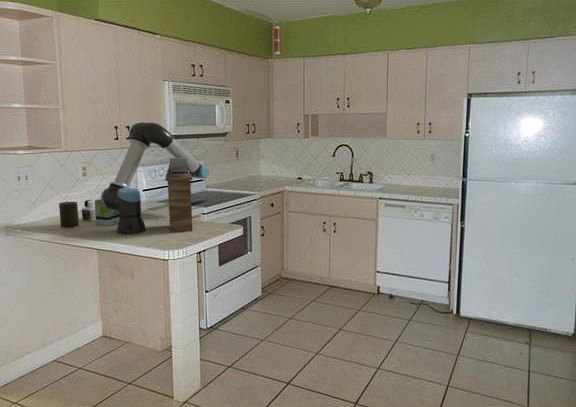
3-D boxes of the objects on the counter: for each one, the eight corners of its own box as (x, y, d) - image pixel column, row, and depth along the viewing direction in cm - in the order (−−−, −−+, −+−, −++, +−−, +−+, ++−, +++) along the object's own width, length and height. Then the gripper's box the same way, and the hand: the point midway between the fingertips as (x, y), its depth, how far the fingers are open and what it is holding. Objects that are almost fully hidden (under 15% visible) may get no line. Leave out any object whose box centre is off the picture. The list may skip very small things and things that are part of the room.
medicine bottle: (82, 220, 302) (80, 200, 300) (91, 217, 308) (90, 199, 306) (90, 221, 299) (88, 201, 297) (99, 219, 305) (98, 199, 303)
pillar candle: (67, 228, 280) (65, 202, 278) (57, 226, 286) (55, 201, 283) (82, 225, 288) (80, 200, 286) (72, 223, 294) (70, 198, 291)
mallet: (187, 171, 270) (186, 158, 268) (170, 172, 268) (169, 159, 266) (185, 166, 293) (185, 154, 292) (170, 167, 291) (169, 155, 290)
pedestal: (194, 231, 273) (192, 177, 267) (168, 233, 270) (165, 178, 264) (192, 223, 291) (190, 173, 285) (168, 225, 288) (165, 174, 282)
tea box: (109, 226, 286) (107, 201, 283) (95, 225, 290) (93, 200, 287) (126, 220, 300) (124, 196, 297) (112, 219, 303) (111, 195, 301)
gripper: (191, 182, 305) (192, 166, 283) (165, 183, 301) (163, 167, 280) (191, 171, 307) (192, 154, 286) (164, 171, 304) (163, 155, 282)
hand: (178, 161), depth 283 cm, fingers closed on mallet, 3 cm apart
